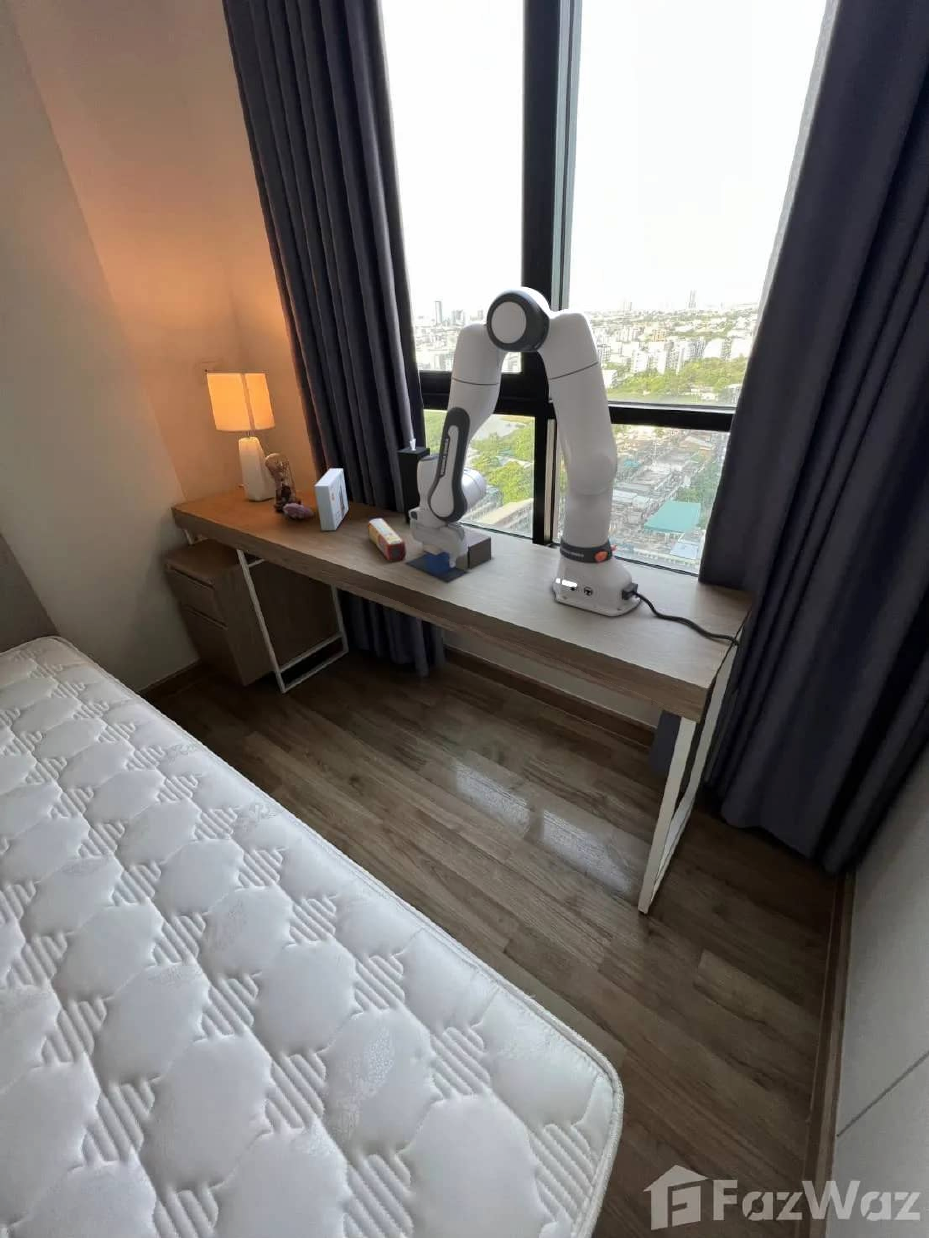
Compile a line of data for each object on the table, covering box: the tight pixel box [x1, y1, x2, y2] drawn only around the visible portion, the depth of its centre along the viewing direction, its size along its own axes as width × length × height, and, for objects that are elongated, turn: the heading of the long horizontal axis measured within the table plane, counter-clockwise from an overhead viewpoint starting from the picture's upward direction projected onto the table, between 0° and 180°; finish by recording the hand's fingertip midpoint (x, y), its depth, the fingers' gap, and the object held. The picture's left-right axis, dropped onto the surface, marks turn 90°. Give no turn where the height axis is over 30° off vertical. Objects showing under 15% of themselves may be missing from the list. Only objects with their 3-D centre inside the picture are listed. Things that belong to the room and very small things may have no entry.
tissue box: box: [396, 438, 431, 525], centre depth 169 cm, size 8×8×28 cm
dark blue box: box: [424, 544, 454, 576], centre depth 141 cm, size 5×6×8 cm
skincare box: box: [314, 468, 349, 531], centre depth 177 cm, size 21×6×16 cm, turn 179°
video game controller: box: [282, 502, 314, 519], centre depth 183 cm, size 10×5×7 cm, turn 73°
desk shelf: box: [462, 526, 492, 570], centre depth 150 cm, size 20×9×7 cm, turn 44°
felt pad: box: [406, 554, 469, 583], centre depth 145 cm, size 18×8×1 cm, turn 44°
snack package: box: [366, 518, 407, 563], centre depth 156 cm, size 21×7×7 cm, turn 26°
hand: (440, 561), depth 142 cm, fingers open, 8 cm apart
